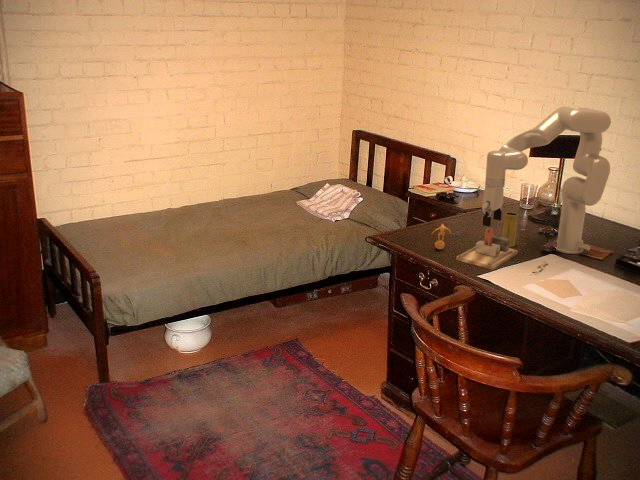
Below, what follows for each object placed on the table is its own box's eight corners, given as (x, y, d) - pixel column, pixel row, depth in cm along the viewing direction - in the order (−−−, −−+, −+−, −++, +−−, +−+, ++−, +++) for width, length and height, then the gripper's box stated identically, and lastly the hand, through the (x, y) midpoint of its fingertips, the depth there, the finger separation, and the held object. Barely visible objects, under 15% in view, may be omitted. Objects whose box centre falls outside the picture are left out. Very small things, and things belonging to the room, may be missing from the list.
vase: (515, 247, 284) (519, 216, 280) (501, 246, 285) (504, 215, 281) (514, 243, 290) (518, 212, 285) (500, 241, 291) (503, 211, 286)
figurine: (447, 247, 283) (450, 221, 279) (451, 252, 277) (453, 225, 273) (428, 247, 283) (430, 221, 279) (431, 252, 277) (433, 225, 273)
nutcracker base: (517, 253, 277) (519, 239, 275) (492, 269, 259) (494, 254, 257) (482, 245, 287) (484, 231, 284) (456, 260, 269) (457, 245, 267)
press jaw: (499, 254, 271) (502, 230, 267) (495, 256, 268) (497, 232, 264) (479, 249, 276) (481, 225, 273) (475, 251, 273) (477, 227, 270)
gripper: (495, 176, 271) (492, 215, 276) (476, 185, 258) (473, 226, 264) (513, 179, 266) (509, 219, 272) (494, 188, 254) (490, 230, 259)
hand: (491, 222), depth 268 cm, fingers open, 9 cm apart
